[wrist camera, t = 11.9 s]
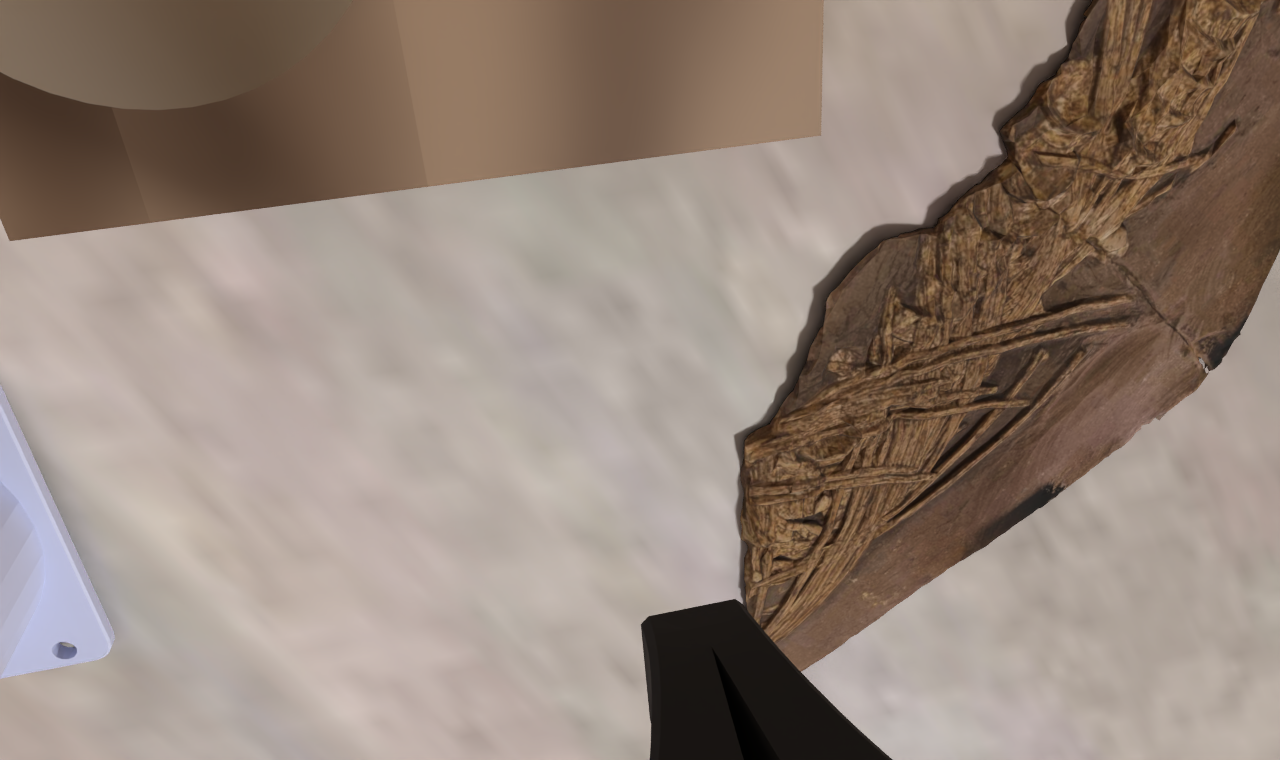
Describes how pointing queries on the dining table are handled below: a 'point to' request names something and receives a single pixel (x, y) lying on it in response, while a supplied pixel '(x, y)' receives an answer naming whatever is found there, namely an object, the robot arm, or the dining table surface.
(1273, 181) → the wooden fragment
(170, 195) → the board
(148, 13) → the peg
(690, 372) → the dining table surface
